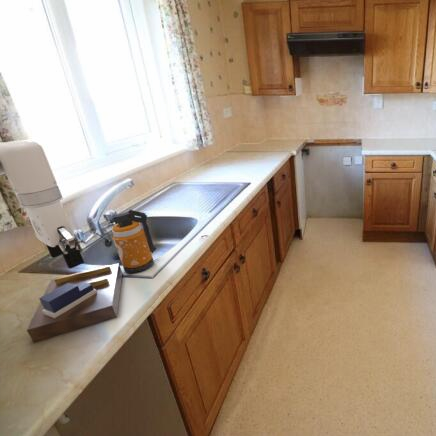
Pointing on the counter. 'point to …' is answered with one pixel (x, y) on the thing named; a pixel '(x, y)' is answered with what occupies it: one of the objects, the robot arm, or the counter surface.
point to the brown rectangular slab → (86, 310)
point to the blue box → (65, 298)
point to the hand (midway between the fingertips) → (67, 260)
